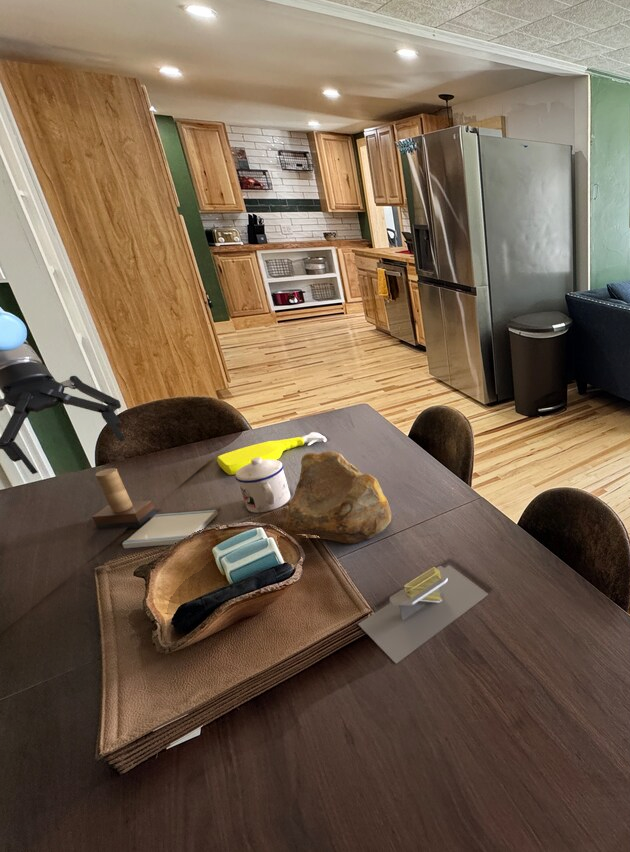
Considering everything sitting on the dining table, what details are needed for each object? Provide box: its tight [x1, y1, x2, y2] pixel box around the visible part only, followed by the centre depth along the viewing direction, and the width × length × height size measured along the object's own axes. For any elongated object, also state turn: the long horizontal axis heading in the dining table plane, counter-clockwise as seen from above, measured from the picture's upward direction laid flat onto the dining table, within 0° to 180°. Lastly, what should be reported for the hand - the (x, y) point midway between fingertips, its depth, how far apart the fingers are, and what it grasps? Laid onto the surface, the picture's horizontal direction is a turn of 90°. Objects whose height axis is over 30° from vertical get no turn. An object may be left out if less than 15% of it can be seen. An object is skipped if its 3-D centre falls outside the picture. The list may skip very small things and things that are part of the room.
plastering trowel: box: [357, 565, 489, 665], centre depth 81 cm, size 12×18×7 cm, turn 142°
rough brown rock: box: [283, 450, 392, 545], centre depth 99 cm, size 23×17×15 cm
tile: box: [121, 509, 219, 549], centre depth 101 cm, size 12×10×1 cm
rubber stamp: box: [91, 467, 158, 531], centre depth 100 cm, size 8×5×13 cm, turn 99°
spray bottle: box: [216, 431, 328, 476], centre depth 131 cm, size 3×11×24 cm
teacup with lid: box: [234, 457, 291, 514], centre depth 108 cm, size 12×9×12 cm
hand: (80, 454), depth 98 cm, fingers open, 13 cm apart
